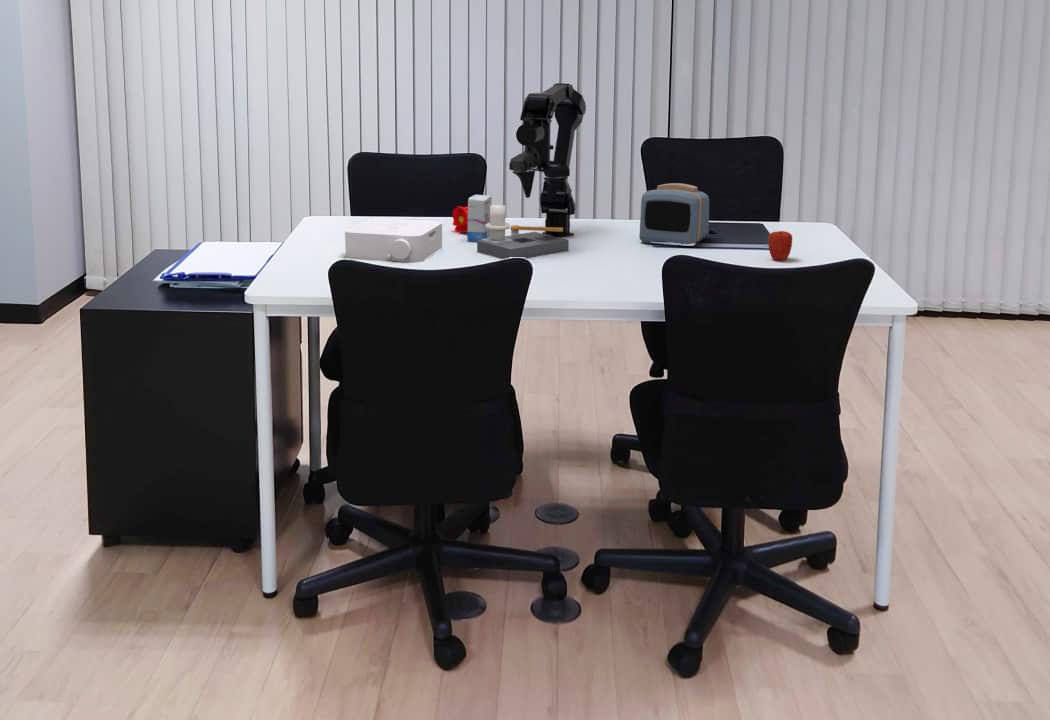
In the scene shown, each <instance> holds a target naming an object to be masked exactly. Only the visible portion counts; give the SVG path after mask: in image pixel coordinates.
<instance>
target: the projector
mask: <svg viewBox="0 0 1050 720" xmlns="http://www.w3.org/2000/svg"><path fill="white" fill-rule="evenodd" d="M344 237H345V257H346V256H348V257H350V259H360V258H362V259H361V260H363V259H364V260H376V259H377V261H378V259H379V261H392V262H393V261H394V262H407V263H408V262H410V263H412V262H413V263H414V262H415V263H416V262H423V261H424V260H426V259H427V258H429V257H430V256H432V255H433V254H435V253H436V252H438V251H439V250H442V248H443V222H441V221H437V220H433V221H431V220H419V219H418V220H415V219H400V218H399V219H396V218H381V217H379V218H378V217H375V218H374V217H373V218H367V219H366V220H363V221H362V222H360V223H358V224H356V225H354V226H351V227H350V228H348V229H346V230H345V231H344ZM348 257H347V258H348Z"/></svg>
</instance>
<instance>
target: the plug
mask: <svg viewBox="0 0 1050 720" xmlns="http://www.w3.org/2000/svg"><path fill="white" fill-rule="evenodd" d="M485 228H486V229H490V237H489V238H490V240H492V241H504V240H505V236H506V231H507V230H509V229H511V225H510V223H506V205H504V204H491V205H490V223H487V224H485Z"/></svg>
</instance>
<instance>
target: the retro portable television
mask: <svg viewBox="0 0 1050 720" xmlns="http://www.w3.org/2000/svg"><path fill="white" fill-rule="evenodd" d="M640 202H641V203H640V219H639V220H640V221H639V240H640V241H641V242H642V243H645V244H647V245H652V244H651V241H652V240H657V241H666V242H675V243H681V244H684V243H685V244H690V243H694V242H696V241H698V240H699V239H700V238H702V237H703V236H705V235H706V234H708V235H709V232H710V228H709V227H710V198H709V196H708V194H707V193H705V192H703V191H699V190H698V186H695V185H692V184H687V183H681V182H680V183H679V182H678V183H675V182H674V183H673V182H671V183H664V184H663V183H662V184H659V185H657V187H656V189H652V190H651V189H650V190H648V191H645V192H644V193H643V194H642V196H641V200H640Z"/></svg>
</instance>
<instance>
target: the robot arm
mask: <svg viewBox="0 0 1050 720" xmlns="http://www.w3.org/2000/svg"><path fill="white" fill-rule="evenodd" d="M586 110H587V105H586V101H585V98H584V97H583V95H582V94H581V93H580V92H578V91H577V90H575V89H574V87H573V85H572V84H570V83H564V82H561V83H560V82H556V83H553V85H552V86H550V88H548V89H546V90H544V91H543V92H531V93H528V94H527V96H526V97H525V99H524V102H523V106H522V109H521V114H520V118H519V120H520V121H523V122H522V123H523V124H520V126H518V128H517V130H516V132H515V137H516V140H517V142H518V143H519V144H520V145H521V146H524V151H522V152H521V153H519V154H517V155H514V156H513V157H512V158H510V161H509V165H508V166H509V167H508V168H509V171H512V174H514V175H516V176H517V178H518V179H519V182H520V183H521V186H522V190H523V192H524V195H525V198H526V199H529V198H530V197H531V196H532V195H531V194H532V189H533V184H534V181H535V173H536V172H540V173H543V175H544V176H545V177H543V180H544V181H543V184H542V190H541V193H540V196H539V204H540V210H541V214H546V215H545V220H544V223H545V225H544V227H554V228H563V231H562V232H559V231H541V233H542V234H547V235H551V236H555V237H559V238H562V237H568V236H573V235H574V233H573V232H570V231H571V216H572V215H575V214H576V203H575V200H574V198H573V195H572V191H573V190H572V188H571V185H570V183H569V180H568V179H569V178H568V177H570V175H571V174H570V173H571V172H570V171H571V169H570V168H571V167H570V165H571V159H572V152H573V145H574V140H575V139H574V138H575V132H576V130H577V129H578V127H579V126H580V125H581V124H582V122H583V119H584V115H585V114H586ZM553 117H554V118H555V120H556V123H557V125H558V129H557V135H556V142H555V148H554V144H553V145H552V144H551V123H552V121H553V120H552V119H553ZM551 150H554V155H553V160H551Z"/></svg>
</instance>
